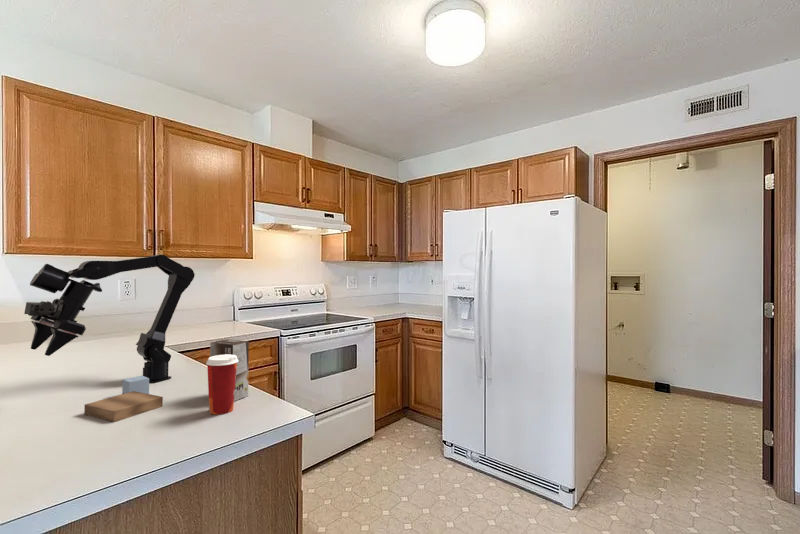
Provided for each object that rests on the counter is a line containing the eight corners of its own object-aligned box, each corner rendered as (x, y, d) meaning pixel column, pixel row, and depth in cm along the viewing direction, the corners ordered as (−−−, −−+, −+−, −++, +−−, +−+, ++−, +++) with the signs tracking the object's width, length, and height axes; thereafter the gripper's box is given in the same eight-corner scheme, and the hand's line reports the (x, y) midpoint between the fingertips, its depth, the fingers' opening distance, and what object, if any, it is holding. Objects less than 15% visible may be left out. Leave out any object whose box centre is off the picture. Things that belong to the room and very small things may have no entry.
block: (141, 392, 114) (142, 375, 114) (148, 395, 111) (149, 378, 111) (122, 396, 110) (122, 379, 110) (128, 400, 107) (129, 382, 107)
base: (133, 400, 106) (133, 391, 106) (162, 406, 102) (162, 396, 102) (84, 414, 95) (84, 404, 95) (114, 422, 91) (114, 411, 91)
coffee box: (249, 395, 111) (250, 340, 111) (232, 402, 105) (233, 344, 105) (226, 391, 114) (226, 338, 115) (208, 398, 109) (209, 342, 109)
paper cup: (243, 407, 101) (244, 355, 101) (221, 418, 94) (222, 361, 94) (220, 404, 104) (221, 353, 104) (197, 413, 96) (198, 358, 97)
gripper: (27, 285, 108) (-10, 337, 102) (56, 292, 99) (17, 350, 93) (69, 300, 117) (38, 349, 111) (99, 308, 108) (67, 361, 102)
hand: (39, 352), depth 104 cm, fingers open, 9 cm apart
